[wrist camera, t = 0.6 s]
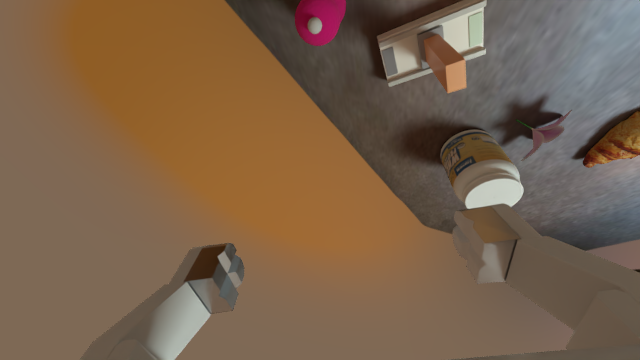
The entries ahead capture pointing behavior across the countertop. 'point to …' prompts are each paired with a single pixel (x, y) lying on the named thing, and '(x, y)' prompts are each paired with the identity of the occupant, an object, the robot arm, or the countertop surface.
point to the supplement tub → (480, 170)
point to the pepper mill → (319, 20)
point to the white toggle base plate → (402, 42)
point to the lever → (442, 59)
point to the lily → (545, 134)
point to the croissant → (617, 143)
